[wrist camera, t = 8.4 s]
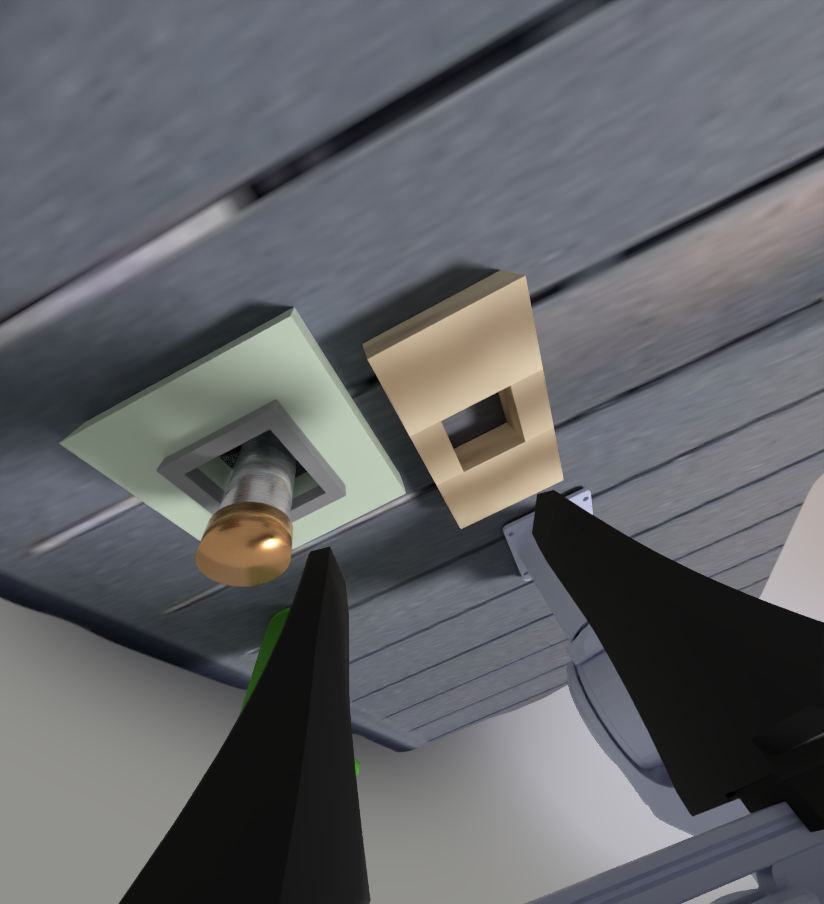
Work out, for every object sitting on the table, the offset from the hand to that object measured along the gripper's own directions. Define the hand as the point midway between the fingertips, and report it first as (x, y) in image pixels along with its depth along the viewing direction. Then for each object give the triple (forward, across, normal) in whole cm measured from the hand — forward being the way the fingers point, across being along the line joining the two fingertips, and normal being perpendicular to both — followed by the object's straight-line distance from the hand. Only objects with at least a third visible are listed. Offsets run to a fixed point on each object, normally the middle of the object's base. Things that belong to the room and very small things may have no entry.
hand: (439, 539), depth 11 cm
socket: (+10, +8, +1) cm, 13 cm away
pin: (+10, +7, +1) cm, 13 cm away
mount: (+10, -5, +2) cm, 12 cm away
